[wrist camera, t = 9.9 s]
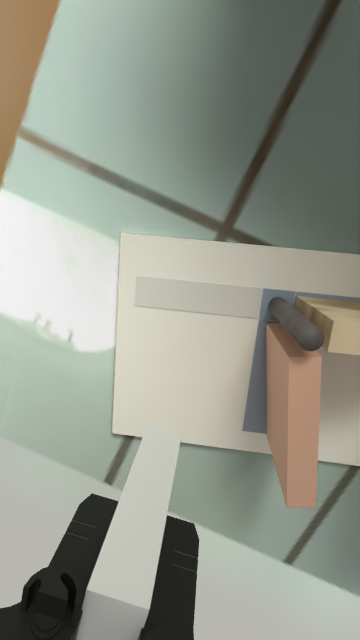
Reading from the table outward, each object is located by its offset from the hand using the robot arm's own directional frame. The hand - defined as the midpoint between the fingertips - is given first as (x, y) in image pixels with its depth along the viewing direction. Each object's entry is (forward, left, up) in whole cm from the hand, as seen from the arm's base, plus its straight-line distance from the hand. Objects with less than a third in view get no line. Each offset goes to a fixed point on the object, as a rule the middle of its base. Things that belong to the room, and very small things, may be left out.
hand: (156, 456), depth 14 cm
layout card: (-1, +6, -12) cm, 14 cm away
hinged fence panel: (+1, +7, -11) cm, 13 cm away
